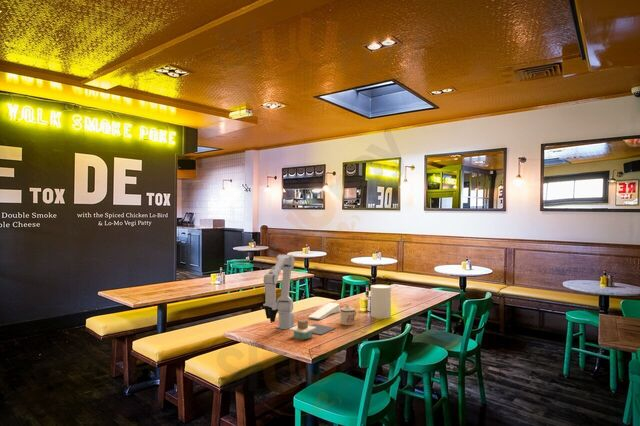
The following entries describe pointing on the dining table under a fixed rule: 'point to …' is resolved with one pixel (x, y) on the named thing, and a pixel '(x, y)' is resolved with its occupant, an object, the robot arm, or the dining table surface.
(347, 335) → the dining table surface
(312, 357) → the dining table surface
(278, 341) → the dining table surface
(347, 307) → the teacup with lid
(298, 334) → the bowl
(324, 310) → the white wedge ramp
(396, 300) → the dining table surface
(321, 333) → the mat
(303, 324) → the cover
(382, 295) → the canister
